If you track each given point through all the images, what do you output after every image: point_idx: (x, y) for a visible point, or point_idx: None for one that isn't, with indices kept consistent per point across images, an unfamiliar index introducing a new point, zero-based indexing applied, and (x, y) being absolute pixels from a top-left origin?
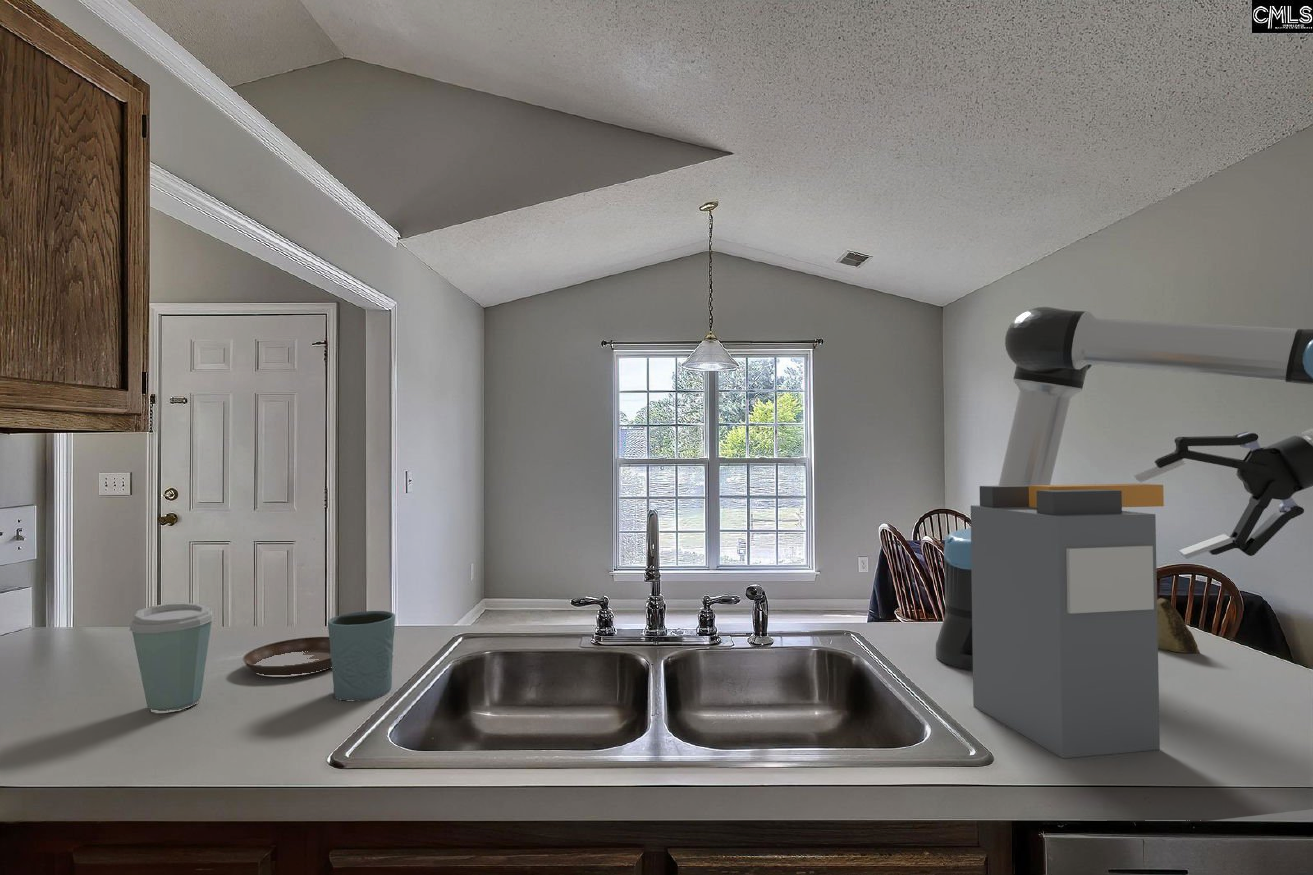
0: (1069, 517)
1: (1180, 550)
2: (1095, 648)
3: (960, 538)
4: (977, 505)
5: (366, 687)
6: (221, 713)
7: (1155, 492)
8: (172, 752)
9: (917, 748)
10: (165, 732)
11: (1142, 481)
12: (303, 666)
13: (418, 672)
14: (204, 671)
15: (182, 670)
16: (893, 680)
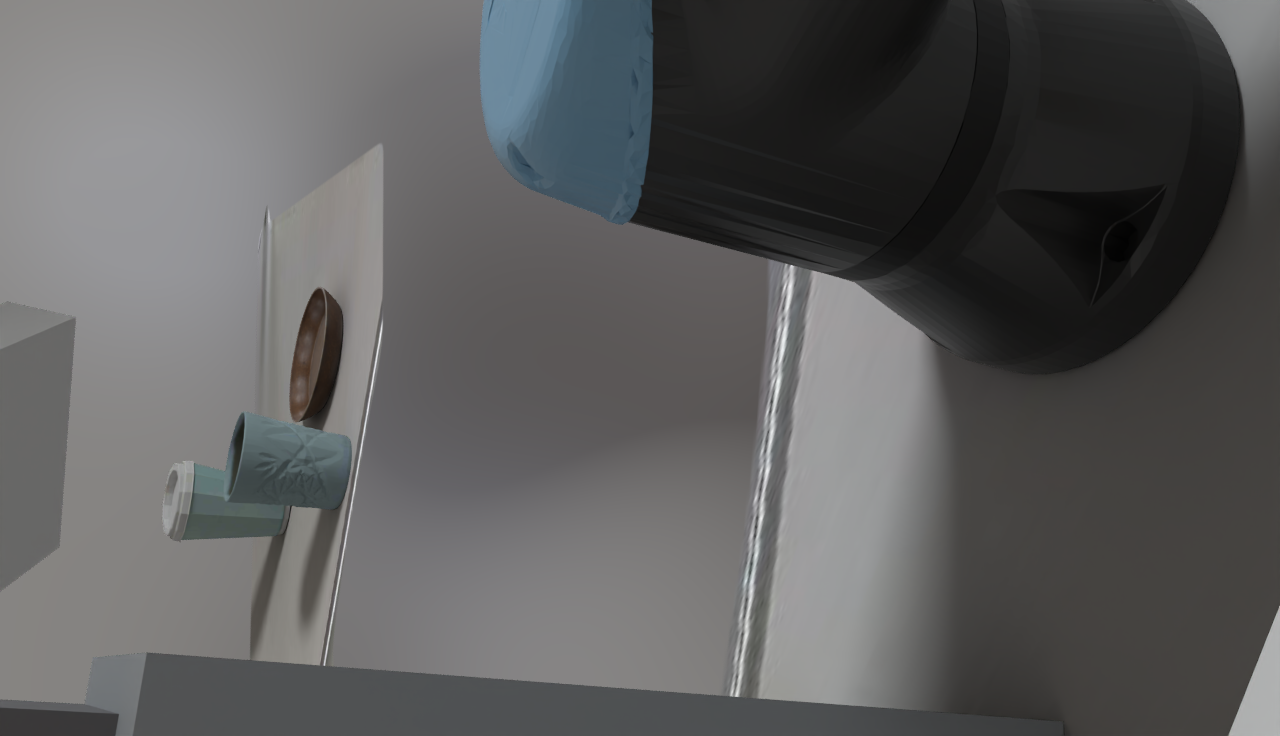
0: None
1: (1277, 623)
2: None
3: (480, 77)
4: (94, 663)
5: (321, 504)
6: (295, 538)
7: None
8: (279, 647)
9: None
10: (280, 589)
11: (43, 555)
12: (309, 411)
13: (367, 387)
14: None
15: (236, 528)
16: (757, 443)
